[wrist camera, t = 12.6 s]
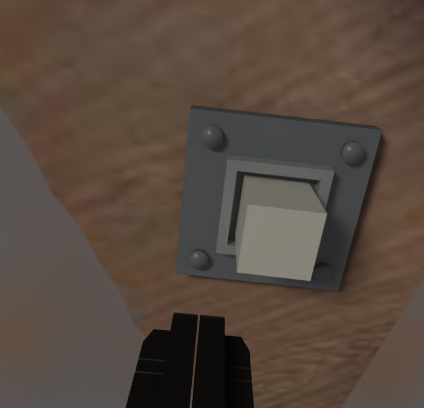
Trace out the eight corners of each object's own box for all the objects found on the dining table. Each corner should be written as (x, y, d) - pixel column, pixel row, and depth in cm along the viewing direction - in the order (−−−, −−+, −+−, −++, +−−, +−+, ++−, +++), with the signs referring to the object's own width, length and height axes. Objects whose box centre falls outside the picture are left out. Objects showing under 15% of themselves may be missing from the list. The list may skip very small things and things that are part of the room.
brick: (244, 174, 30) (247, 204, 25) (308, 182, 30) (327, 213, 25) (235, 232, 32) (236, 272, 26) (295, 239, 32) (310, 281, 27)
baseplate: (191, 105, 30) (188, 111, 27) (375, 126, 30) (388, 133, 27) (178, 264, 35) (174, 281, 33) (333, 281, 35) (341, 299, 33)
